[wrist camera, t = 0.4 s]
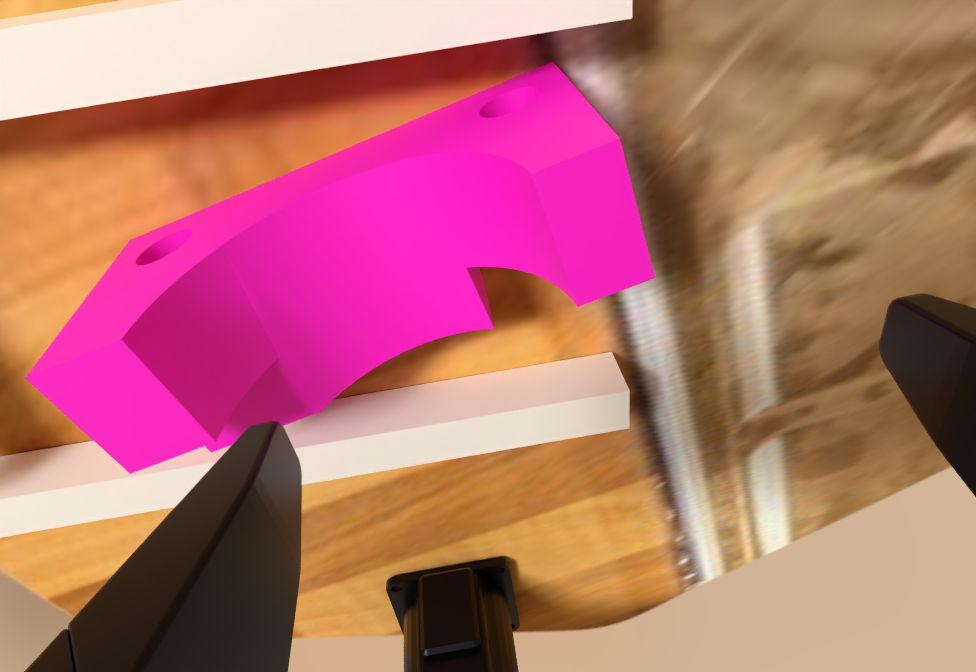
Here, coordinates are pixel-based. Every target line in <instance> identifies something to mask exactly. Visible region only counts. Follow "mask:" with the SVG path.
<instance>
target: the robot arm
mask: <svg viewBox="0 0 976 672" xmlns="http://www.w3.org/2000/svg"><path fill="white" fill-rule="evenodd" d="M879 351H880V356H881V358H882V360H883V362H884V364H885V366H886V367H887V369H888V370H889V372H890V374H891V375H892V377H893V378H894V380H895V382H896V383H897V385H898V386H899V388H900V390H901V391H902V393H903V394H904V396H905V398H906V399H907V401H908V402H909V404H910V406H911V407H912V409H913V411H914V412H915V414H916V415H917V417H918V419H919V420H920V422H921V423H922V425H923V427H924V428H925V430H926V431H927V433H928V434H929V436H930V437H931V439H932V440H933V442H934V443H935V445H936V446H937V447H938V449H939V450H940V452H941V453H942V454H943V456H944V457H945V458H946V460H947V461H948V462H949V463H950V465H951V466H952V467H953V468H954V469H955V471H956V472H957V474H958V475H959V476H960V477H961V479H962V480H963V481H964V482H965V484H966V485H967V486H968V488H969V489H970V490H971V491H972V493H973V494H974V495H975V497H976V308H972V307H969V306H966V305H962V304H959V303H955V302H952V301H949V300H945V299H942V298H939V297H935V296H932V295H928V294H915V295H910V296H905V297H900V298H897V299H895V300H893V301H892V302H891V304H890V305H889V307H888V310H887V314H886V318H885V322H884V326H883V330H882V334H881V338H880V342H879ZM301 502H302V472H301V465H300V461H299V458H298V456H297V454H296V452H295V450H294V448H293V446H292V444H291V441H290V439H289V437H288V435H287V433H286V431H285V429H284V427H283V425H282V424H281V423H280V422H278V421H269V422H264V423H259V424H254V425H251V426H249V427H248V428H247V429H246V430H245V431H244V432H243V433H242V434H241V436H240V437H239V438H238V439H237V440H236V441H235V442H234V443H233V444H232V445H231V446H230V448H229V449H228V450H227V451H226V452H225V453H224V454H223V455H222V456H221V457H220V459H219V460H218V461H217V462H216V463H215V464H214V465H213V466H212V467H211V468H210V470H209V471H208V472H207V473H206V474H205V475H204V476H203V477H202V478H201V479H200V480H199V482H198V483H197V484H196V485H195V486H194V487H193V488H192V489H191V490H190V491H189V493H188V494H187V495H186V496H185V497H184V498H183V499H182V500H181V501H180V502H179V503H178V505H177V506H176V507H175V508H174V509H173V510H172V511H171V512H170V513H169V514H168V516H167V517H166V518H165V519H164V520H163V521H162V522H161V523H160V524H159V525H158V526H157V528H156V529H155V530H154V531H153V532H152V533H151V534H150V535H149V536H148V537H147V539H146V540H145V541H144V542H143V543H142V544H141V545H140V546H139V547H138V548H137V549H136V551H135V552H134V553H133V554H132V555H131V556H130V557H129V558H128V559H127V560H126V562H125V563H124V564H123V565H122V566H121V567H120V568H119V569H118V570H117V571H116V573H115V574H114V575H113V576H112V577H111V578H110V579H109V580H108V581H107V582H106V583H105V585H104V586H103V587H102V588H101V589H100V590H99V591H98V592H97V593H96V594H95V596H94V597H93V598H92V599H91V600H90V601H89V602H88V603H87V604H86V605H85V606H84V608H83V609H82V610H81V611H80V612H79V613H78V614H77V615H76V616H75V617H74V618H73V620H72V621H71V622H70V623H69V625H68V629H64V630H63V631H62V632H60V634H59V635H58V636H57V637H56V638H55V639H54V640H53V641H52V642H51V643H50V645H49V646H48V647H47V648H46V649H45V650H44V651H43V652H42V653H41V654H40V655H39V657H38V658H37V659H36V660H35V661H34V662H33V663H32V664H31V665H30V666H29V667H28V668H27V669H26V670H25V671H24V672H288V666H289V658H290V650H291V642H292V635H293V627H294V619H295V612H296V604H297V596H298V588H299V579H300V569H301ZM386 591H387V594H388V596H389V599H390V601H391V604H392V606H393V609H394V612H395V614H396V617H397V619H398V622H399V624H400V627H401V630H402V632H403V635H404V672H518V666H517V659H516V652H515V645H514V639H513V632H512V631H515V630H517V629H518V628H519V626H520V625H519V618H518V613H517V607H516V602H515V596H514V591H513V585H512V579H511V574H510V568H509V563H508V561H507V560H506V559H503V558H498V559H492V560H486V561H481V562H475V563H469V564H464V565H458V566H452V567H447V568H441V569H435V570H430V571H424V572H418V573H413V574H407V575H401V576H396V577H392V578H390V579H388V580H387V582H386Z"/></svg>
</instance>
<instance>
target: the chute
mask: <svg viewBox="0 0 976 672" xmlns="http://www.w3.org/2000/svg"><path fill="white" fill-rule="evenodd" d="M626 19H632V0H121V1H115V2H108V3H102V4H96V5H89V6H83V7H77V8H70V9H64V10H58V11H51V12H45V13H39V14H33V15H26V16H20V17H14V18H7V19H1V20H0V121H1V120H7V119H13V118H19V117H25V116H31V115H38V114H44V113H50V112H56V111H62V110H69V109H75V108H81V107H87V106H93V105H100V104H106V103H112V102H118V101H124V100H131V99H137V98H143V97H149V96H155V95H162V94H168V93H174V92H180V91H186V90H193V89H199V88H205V87H211V86H217V85H223V84H230V83H236V82H242V81H248V80H254V79H261V78H267V77H273V76H279V75H285V74H292V73H298V72H304V71H310V70H316V69H323V68H329V67H335V66H341V65H347V64H354V63H360V62H366V61H372V60H378V59H385V58H391V57H397V56H403V55H409V54H415V53H422V52H428V51H434V50H440V49H446V48H453V47H459V46H465V45H471V44H477V43H484V42H490V41H496V40H502V39H508V38H515V37H521V36H527V35H533V34H539V33H546V32H552V31H558V30H564V29H570V28H577V27H583V26H589V25H595V24H601V23H607V22H614V21H620V20H626ZM629 402H630V391H629V388H628V386H627V384H626V382H625V380H624V377H623V375H622V373H621V371H620V369H619V366H618V364H617V362H616V360H615V358H614V355H613V353H612V352H608V353H602V354H596V355H590V356H585V357H579V358H573V359H567V360H561V361H555V362H549V363H544V364H538V365H532V366H526V367H520V368H514V369H509V370H503V371H497V372H491V373H485V374H479V375H473V376H468V377H462V378H456V379H450V380H444V381H438V382H433V383H427V384H421V385H415V386H409V387H403V388H398V389H392V390H386V391H380V392H374V393H368V394H362V395H357V396H351V397H345V398H339V399H333V400H332V401H331V402H330V403H329V404H328V405H327V406H326V407H325V408H324V409H323V410H322V411H321V412H319V413H316V414H314V415H311V416H308V417H306V418H303V419H300V420H298V421H295V422H292V423H290V424H287V425H284V426H283V427H284V429H285V431H286V433H287V435H288V437H289V439H290V441H291V444H292V446H293V448H294V450H295V452H296V454H297V456H298V458H299V461H300V465H301V472H302V485H305V484H311V483H317V482H322V481H328V480H334V479H340V478H345V477H351V476H357V475H363V474H369V473H374V472H380V471H386V470H392V469H397V468H403V467H409V466H415V465H420V464H426V463H432V462H438V461H443V460H449V459H455V458H461V457H467V456H472V455H478V454H484V453H490V452H495V451H501V450H507V449H513V448H518V447H524V446H530V445H536V444H541V443H547V442H553V441H559V440H565V439H570V438H576V437H582V436H588V435H593V434H599V433H605V432H611V431H616V430H622V429H628V428H629ZM230 446H231V445H230ZM230 446H228V447H225V448H222V449H220V450H217V451H214V452H212V453H211V452H210V451H209V450H208V449H207V448H206V447H205V446H204V447H201V448H198V449H196V450H193V451H190V452H188V453H185V454H182V455H180V456H177V457H174V458H172V459H169V460H166V461H164V462H161V463H158V464H156V465H153V466H150V467H148V468H145V469H142V470H140V471H137V472H134V473H132V474H130V473H129V472H127V471H126V470H125V469H124V468H123V467H122V466H121V465H120V464H119V463H118V462H117V461H115V460H114V459H113V458H112V457H111V456H110V455H109V454H108V453H107V452H106V451H104V450H103V449H102V448H101V447H100V446H99V445H98V444H97V443H96V442H95V441H88V442H82V443H76V444H70V445H64V446H59V447H53V448H47V449H41V450H35V451H29V452H24V453H18V454H12V455H6V456H0V537H5V536H11V535H17V534H23V533H28V532H34V531H40V530H46V529H52V528H57V527H63V526H69V525H75V524H80V523H86V522H92V521H98V520H103V519H109V518H115V517H121V516H126V515H132V514H138V513H144V512H150V511H155V510H161V509H167V508H173V507H176V506H177V505H178V503H179V502H180V501H181V500H182V499H183V498H184V497H185V496H186V495H187V494H188V493H189V491H190V490H191V489H192V488H193V487H194V486H195V485H196V484H197V483H198V482H199V480H200V479H201V478H202V477H203V476H204V475H205V474H206V473H207V472H208V471H209V470H210V468H211V467H212V466H213V465H214V464H215V463H216V462H217V461H218V460H219V459H220V457H221V456H222V455H223V454H224V453H225V452H226V451H227V450H228V449H229V448H230Z"/></svg>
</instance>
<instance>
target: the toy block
mask: <svg viewBox="0 0 976 672" xmlns="http://www.w3.org/2000/svg"><path fill="white" fill-rule="evenodd" d="M479 267H499V268H509V269H515V270H520V271H524V272H527V273H530V274H534V275H537V276H539V277H541V278H543V279H545V280H548V281H549V282H551V283H553V284H554V285H556V286H557V287H559V288H560V289H561V290H562V291H564V292H565V293H566V294H567V295H568V296H569V297H570V298H571V299H572V301H573V302H574V303H575V304H576V306H577V307H578V306H581V305H584V304H586V303H589V302H592V301H594V300H597V299H600V298H602V297H605V296H608V295H610V294H613V293H616V292H619V291H621V290H624V289H627V288H629V287H632V286H635V285H637V284H640V283H643V282H645V281H648V280H651V279H653V278H655V276H654V272H653V268H652V264H651V260H650V256H649V252H648V248H647V244H646V240H645V236H644V232H643V228H642V224H641V220H640V216H639V212H638V208H637V204H636V200H635V196H634V192H633V188H632V184H631V180H630V176H629V172H628V168H627V164H626V160H625V156H624V152H623V148H622V144H621V140H620V138H619V137H618V135H617V134H616V133H615V132H614V131H613V130H612V129H611V127H610V126H609V125H608V124H607V123H606V122H605V121H604V119H603V118H602V117H601V116H600V115H599V114H598V112H597V111H596V110H595V109H594V108H593V107H592V106H591V104H590V103H589V102H588V101H587V100H586V99H585V98H584V96H583V95H582V94H581V93H580V92H579V91H578V90H577V88H576V87H575V86H574V85H573V84H572V83H571V82H570V80H569V79H568V78H567V77H566V76H565V75H564V74H563V72H562V71H561V70H560V69H559V68H558V67H557V66H556V64H555V63H554V62H553V61H552V62H550V63H547V64H545V65H543V66H540V67H538V68H535V69H533V70H531V71H528V72H526V73H524V74H521V75H519V76H517V77H514V78H512V79H510V80H507V81H505V82H502V83H500V84H498V85H495V86H493V87H491V88H488V89H486V90H484V91H481V92H479V93H476V94H474V95H472V96H469V97H467V98H465V99H462V100H460V101H458V102H455V103H453V104H451V105H448V106H446V107H443V108H441V109H439V110H436V111H434V112H432V113H429V114H427V115H425V116H422V117H420V118H418V119H415V120H413V121H410V122H408V123H406V124H403V125H401V126H399V127H396V128H394V129H392V130H389V131H387V132H384V133H382V134H380V135H377V136H375V137H373V138H370V139H368V140H366V141H363V142H361V143H359V144H356V145H354V146H351V147H349V148H347V149H344V150H342V151H340V152H337V153H335V154H333V155H330V156H328V157H325V158H323V159H321V160H318V161H316V162H314V163H311V164H309V165H307V166H304V167H302V168H300V169H297V170H295V171H292V172H290V173H288V174H285V175H283V176H281V177H278V178H276V179H274V180H271V181H269V182H266V183H264V184H262V185H259V186H257V187H255V188H252V189H250V190H248V191H245V192H243V193H241V194H238V195H236V196H233V197H231V198H229V199H226V200H224V201H222V202H219V203H217V204H215V205H212V206H210V207H208V208H205V209H203V210H200V211H198V212H196V213H193V214H191V215H189V216H186V217H184V218H182V219H179V220H177V221H174V222H172V223H170V224H167V225H165V226H163V227H160V228H158V229H156V230H153V231H151V232H149V233H146V234H144V235H141V236H139V237H137V238H134V239H132V240H130V241H129V242H128V244H127V245H126V246H125V248H124V249H123V250H122V251H121V253H120V254H119V255H118V257H117V258H116V259H115V261H114V262H113V263H112V265H111V266H110V267H109V269H108V270H107V271H106V273H105V274H104V275H103V276H102V278H101V279H100V280H99V282H98V283H97V284H96V286H95V287H94V288H93V290H92V291H91V292H90V294H89V295H88V296H87V298H86V299H85V300H84V302H83V303H82V304H81V305H80V307H79V308H78V309H77V311H76V312H75V313H74V315H73V316H72V317H71V319H70V320H69V321H68V323H67V324H66V325H65V327H64V328H63V329H62V330H61V332H60V333H59V334H58V336H57V337H56V338H55V340H54V341H53V342H52V344H51V345H50V346H49V348H48V349H47V350H46V352H45V353H44V354H43V355H42V357H41V358H40V359H39V361H38V362H37V363H36V365H35V366H34V367H33V369H32V370H31V371H30V373H29V374H28V375H27V377H26V379H27V380H28V381H29V382H30V383H31V384H32V385H33V386H34V387H35V388H37V389H38V390H39V391H40V392H41V393H42V394H43V395H44V396H45V397H46V398H48V399H49V400H50V401H51V402H52V403H53V404H54V405H55V406H56V407H57V408H58V409H60V410H61V411H62V412H63V413H64V414H65V415H66V416H67V417H68V418H69V419H71V420H72V421H73V422H74V423H75V424H76V425H77V426H78V427H79V428H80V429H81V430H83V431H84V432H85V433H86V434H87V435H88V436H89V437H90V438H91V439H92V440H94V441H95V442H96V443H97V444H98V445H99V446H100V447H101V448H102V449H103V450H104V451H106V452H107V453H108V454H109V455H110V456H111V457H112V458H113V459H114V460H115V461H117V462H118V463H119V464H120V465H121V466H122V467H123V468H124V469H125V470H126V471H127V472H129V473H130V474H132V473H134V472H137V471H140V470H142V469H145V468H148V467H150V466H153V465H156V464H158V463H161V462H164V461H166V460H169V459H172V458H174V457H177V456H180V455H182V454H185V453H188V452H190V451H193V450H196V449H198V448H201V447H204V446H205V447H206V448H207V449H208V450H209V451H210V452H211V453H212V452H214V451H217V450H220V449H222V448H225V447H228V446H230V445H232V444H233V443H234V442H235V441H236V440H237V439H238V438H239V437H240V436H241V434H242V433H243V432H244V431H245V430H246V429H247V428H248V427H249V426H251V425H254V424H259V423H264V422H269V421H278V422H280V423H281V424H282V425H283V426H284V425H287V424H290V423H292V422H295V421H298V420H300V419H303V418H306V417H308V416H311V415H314V414H316V413H319V412H321V411H322V410H323V409H324V408H325V407H326V406H327V405H328V404H329V403H330V402H331V401H332V400H333V399H334V398H336V397H337V396H338V395H339V394H340V393H341V392H342V391H344V390H345V389H346V388H347V387H349V386H350V385H351V384H353V383H354V382H355V381H356V380H358V379H359V378H361V377H362V376H364V375H365V374H367V373H368V372H369V371H371V370H372V369H374V368H376V367H377V366H379V365H381V364H382V363H384V362H386V361H388V360H389V359H391V358H393V357H395V356H397V355H399V354H401V353H403V352H405V351H408V350H410V349H412V348H414V347H417V346H419V345H422V344H424V343H427V342H430V341H433V340H436V339H439V338H442V337H446V336H450V335H454V334H458V333H463V332H469V331H475V330H484V329H494V325H493V320H492V315H491V311H490V306H489V301H488V297H487V292H486V287H485V283H484V278H483V276H482V273H481V271H480V269H479Z"/></svg>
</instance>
